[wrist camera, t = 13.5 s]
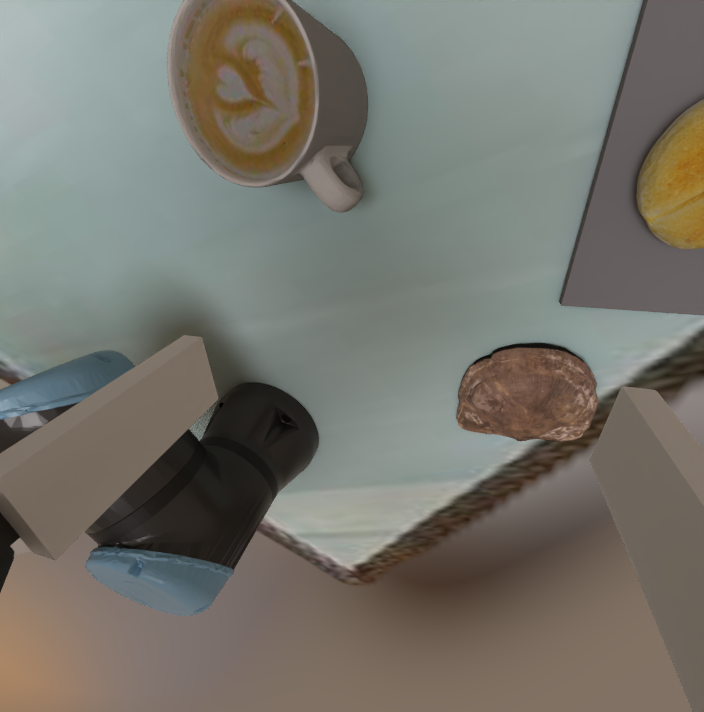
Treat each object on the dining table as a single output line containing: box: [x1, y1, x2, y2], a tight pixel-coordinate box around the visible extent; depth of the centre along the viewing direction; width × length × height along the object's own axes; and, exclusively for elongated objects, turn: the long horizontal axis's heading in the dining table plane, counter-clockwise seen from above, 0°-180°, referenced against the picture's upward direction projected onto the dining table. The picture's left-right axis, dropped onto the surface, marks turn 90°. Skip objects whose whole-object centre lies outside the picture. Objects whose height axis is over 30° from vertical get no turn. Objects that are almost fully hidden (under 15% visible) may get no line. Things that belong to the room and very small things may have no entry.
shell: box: [456, 343, 599, 441], centre depth 34 cm, size 12×13×4 cm
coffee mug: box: [167, 0, 368, 213], centre depth 25 cm, size 13×10×10 cm
